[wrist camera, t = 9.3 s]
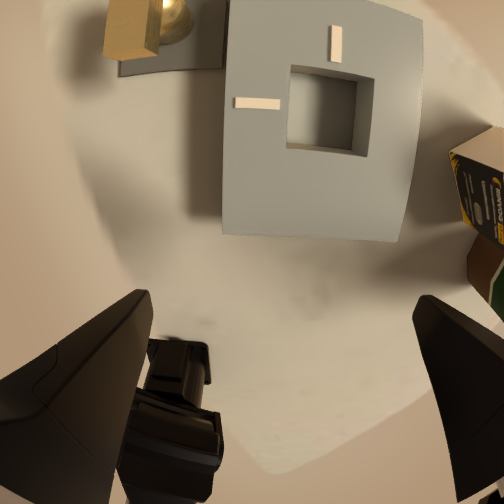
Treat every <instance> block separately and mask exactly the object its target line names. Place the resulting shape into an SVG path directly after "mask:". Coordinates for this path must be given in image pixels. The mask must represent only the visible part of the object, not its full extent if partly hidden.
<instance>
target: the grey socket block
mask: <svg viewBox="0 0 504 504" xmlns="http://www.w3.org/2000/svg"><path fill="white" fill-rule="evenodd" d="M423 62H424V48H423V20H421V19H419V18H416V17H414V16H411V15H409V14H406V13H404V12H401V11H398V10H395V9H392V8H390V7H387V6H384V5H380V4H377V3H374V2H371V1H367V0H231V1H230V14H229V29H228V45H227V64H226V84H225V109H224V140H223V192H222V234H232V235H259V236H283V237H306V238H327V239H346V240H365V241H382V242H398V238H399V234H400V230H401V226H402V222H403V218H404V214H405V209H406V205H407V200H408V195H409V190H410V185H411V180H412V174H413V169H414V163H415V156H416V150H417V142H418V135H419V126H420V116H421V105H422V91H423ZM291 72H297V73H306V74H313V75H320V76H327V77H333V78H339V79H344V80H349V81H354V82H357V92H356V106H355V118H354V128H353V138H352V147H351V150H347V149H339V148H331V147H323V146H313V145H303V144H292V143H286V138H287V123H288V108H289V91H290V73H291Z"/></svg>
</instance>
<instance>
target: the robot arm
mask: <svg viewBox="0 0 504 504" xmlns="http://www.w3.org/2000/svg"><path fill="white" fill-rule="evenodd" d="M152 320H153V307H152V302H151V297H150V293H149V291H148V290H143V289H135V290H134V291H132V292H131V293H129V294H128V295H126V296H125V297H123V298H122V299H120V300H119V301H117V302H116V303H114V304H113V305H111V306H110V307H108V308H107V309H105V310H104V311H102V312H101V313H100V314H98V315H97V316H95V317H94V318H92V319H91V320H89V321H88V322H87V323H85V324H84V325H82V326H81V327H79V328H78V329H76V330H75V331H73V332H72V333H71V334H69V335H68V336H66V337H65V338H64V339H62V340H61V341H59V342H58V343H57V344H55V345H54V346H52V347H51V348H49V349H48V350H47V351H45V352H44V353H42V354H41V355H39V356H38V357H36V358H35V359H33V360H32V361H30V362H29V363H27V364H25V365H24V366H22V367H21V368H19V369H17V370H16V371H14V372H12V373H11V374H9V375H7V376H6V377H4V378H3V379H1V380H0V504H109V499H110V493H111V488H112V483H113V479H114V473H115V468H116V469H117V472H118V475H119V478H120V481H121V483H122V486H123V488H124V491H125V493H126V496H127V499H126V504H196V503H197V502H200V503H203V502H205V501H206V500H207V499H208V498H209V496H210V495H211V493H212V485H213V477H214V473H215V472H216V471H217V470H218V468H219V467H220V464H221V462H222V458H223V453H224V441H223V433H222V425H221V417H220V413H219V412H215V411H214V412H212V411H208V410H204V409H201V401H202V394H203V386H204V384H205V385H209V384H211V370H210V360H209V348H208V345H207V344H204V343H192V342H180V341H169V340H159V339H150V338H149V335H150V330H151V325H152ZM412 320H413V324H414V327H415V331H416V335H417V338H418V342H419V346H420V350H421V354H422V357H423V360H424V363H425V366H426V369H427V372H428V375H429V378H430V381H431V384H432V388H433V391H434V394H435V398H436V401H437V405H438V408H439V412H440V415H441V419H442V423H443V427H444V431H445V436H446V440H447V444H448V449H449V453H450V460H451V465H452V471H453V477H454V483H455V491H456V498H457V502H458V503H459V502H461V501H462V500H464V499H467V498H468V497H470V496H472V495H474V494H476V493H478V492H479V491H481V490H483V489H484V488H486V487H488V486H489V485H491V484H493V483H494V482H496V484H497V487H498V488H497V489H495V490H494V491H493V492H491V493H490V494H488V495H487V496H485V497H484V498H482V499H480V500H479V503H478V504H504V339H502V338H501V337H500V336H498V335H496V334H495V333H493V332H492V331H490V330H489V329H487V328H486V327H484V326H482V325H481V324H479V323H478V322H476V321H474V320H473V319H471V318H469V317H468V316H466V315H465V314H463V313H461V312H460V311H458V310H456V309H455V308H453V307H451V306H450V305H448V304H446V303H445V302H443V301H441V300H439V299H438V298H436V297H434V296H433V295H422V296H420V298H419V300H418V302H417V305H416V307H415V309H414V312H413V315H412ZM146 352H147V355H148V359H149V362H150V367H149V370H148V373H147V376H146V380H145V383H144V386H143V389H141V388H138V387H137V383H138V380H139V376H140V373H141V370H142V367H143V363H144V359H145V356H146Z"/></svg>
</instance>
